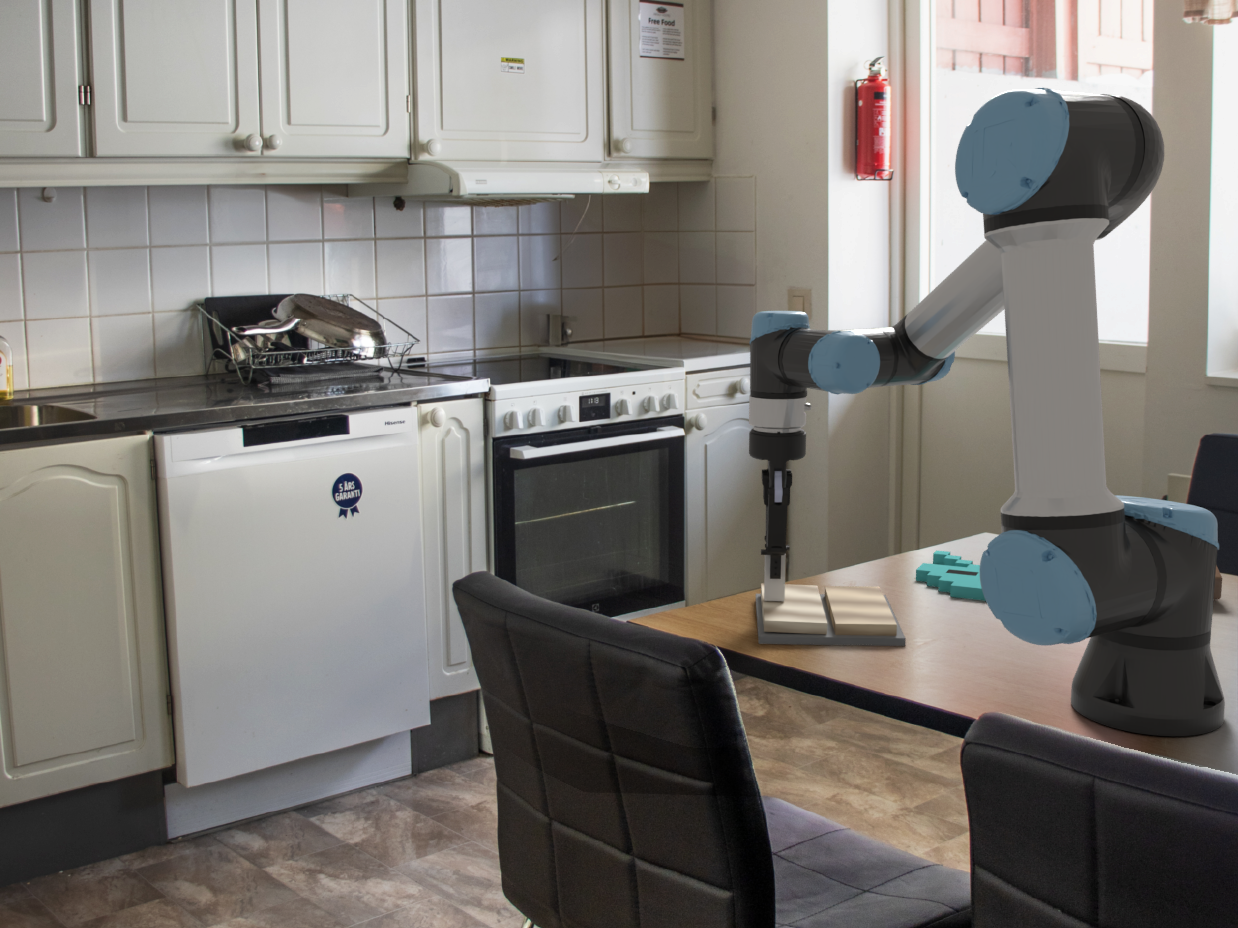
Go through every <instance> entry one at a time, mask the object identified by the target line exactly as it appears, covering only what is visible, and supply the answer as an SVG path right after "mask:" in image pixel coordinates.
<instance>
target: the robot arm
mask: <svg viewBox="0 0 1238 928" xmlns="http://www.w3.org/2000/svg"><path fill="white" fill-rule="evenodd" d="M1164 161H1165V141H1164V138H1163V133H1162V130H1161V129H1160V127H1159V125H1158V122H1157V120H1156V119H1155V118H1154V116H1153V115H1152V114H1151V113H1150V112H1149V111H1148V110H1147V109H1146V108H1145V107H1144V106H1143V105H1142V104H1139V103H1138V102H1136V101H1135V100H1132V99H1130V98H1127V97H1124V96H1122V95H1116V94H1105V93H1102V94H1096V93H1085V92H1077V91H1066V90H1057V89H1052V88H1048V87H1037V88H1033V89H1012V90H1011V89H1010V90H1007V91H1004V92H1001V93H999V94H996V95H995V96H994V97H992V98H990V99H988V100H987V101H986V102H985V103H984V104H982V106H981V107H979V109H978V110H977V111H976V112H975V113H974V114H973V117H972V119H971V122H970V123H969V124H966V126H965V128H964V131H963V132H962V135H961V137H960V139H959V142H958V146H957V149H956V154H955V161H954V173H955V174H954V175H955V182H956V186H957V189H958V192H959V193H960V195H961V197H962V198H964V199H966V203H967V205H968V206H970V207H971V208H972V209H974V210H975V211H976V212H978V213H981V214H982V220H983V221H982V222H983V233H984V234H983V235H984V239H985V241H984V242H982V243H981V245H979V246H978V247H977V248H976V249H975V250H974V251H973V252H972V253H971V254H970V255H968V256H967V258H966V259H964V260H963V261H962V262H961V263H960V264H959V265H958V266H957V267H956V268H955V269H954V270H953V271H952V272H950V273H949V274H948V275H947V276H946V277H945V278H944V279H943V280H942V281H941V282H939V284H938V285H937V286H936V287H935V288H934V289H932V291H931V292H929V293H928V294H927V295H926V296H925V297H924V298H923V299H922V300H921V301H920V302H919V303H918V304H917V305H916V306H915V307H913V308H912V310H910V311H909V312H908V313H907V314H905V315H904V316H903V318H902V317H901V319H900V320H899V321H898V322H896V324H893V325H892V326H887V327H871V328H856V329H854V328H852V329H836V330H835V329H834V330H831V329H829V330H827V329H811V326H810V318H809V314H807V312H805V311H800V310H766V311H765V310H764V311H758V312H756V313H755V314H754V315H753V316H752V320H751V331H750V332H751V333H750V339H749V348H750V349H749V352H750V353H749V356H750V357H749V359H750V360H749V365H750V366H749V372H750V373H749V376H750V377H749V390H750V392H749V399H748V400H749V402H748V403H749V404H748V405H749V406H748V407H749V408H748V410H749V411H748V424H749V425H750V426H751V427H753V428H751V429H750V431H749V433H748V454H749V456H750V457H751V458H753V459H754V460H755V459H756V460H760V461H767V469H765V468H764V469H763V468H762V469H761V484H762V486H763V487H762V489H763V491H762V492H763V493H762V496H763V497H762V498H763V504H764V505H765V535H764V537H763V538H764V542H765V543H764V548H765V549H764V548H763V549H760V555H762V556H764V582H763V583H764V601H785V584H786V556H787V555H786V554H787V552H788V551H790V549H791V548H790V545H789V544H787V530H788V529H787V526H788V506H789V505H790V504H791V487H792V486H793V473H792V469H787V462H789V461H798V460H802V459H803V458H804V457H805V456H806V454H807V449H806V447H807V432H806V431H805V430H804V429H802V428H803V427H805V426H806V425H807V413H806V412H805V411H811V410H812V404H811V403H809V402H807V396H808V389H810V390H811V389H812V390H817V391H822V392H827V393H830V394H834V395H841V394H846V395H847V394H848V395H857V394H859V393H862V392H864V391H865V390H867V389H874V388H880V387H893V386H894V387H895V386H904V385H905V386H906V385H908V386H909V385H911V386H919V385H924V384H927V383H930V382H937V381H939V380H941V379H943V378H944V377H946V376H947V375H948V374H949V373H950V371H951V368H952V365H953V364H954V362H955V358H956V351H957V350H958V349H959V348H960V347H962V346H963V344H965V343H966V342H967V341H968V340H970V338H973V336H974V335H976V334H977V333H979V332H980V331H981V330H982V329H983V328H984V327H985V326H986V325H987V324H989V323H990V322H991V321H992V320H993V319H995V317H997V316H998V315H1000V313H1002V312H1003V311H1004V321H1005V322H1004V324H1005V325H1004V327H1005V339H1006V340H1005V341H1006V357H1007V374H1008V377H1007V378H1008V392H1009V393H1008V395H1009V409H1010V427H1011V443H1012V460H1013V478H1014V492H1013V494H1012V495H1011V496H1010V497H1009V498H1008V499H1007V500H1006V502H1004V503H1003V504H1002V506H1001V507H1000V522H1001V523H1000V524H1001V533H1000V534H998V535H997V536H995V537H994V538H993V539H991V540H990V541H989V542H988V544H987V545H986V546H987V549H986V550H984V551H983V552H982V554H981V557H980V561H979V562H980V563H979V565H980V583H981V588H982V591H983V595H984V597H985V600H986V601H985V602H986V604H987V606H988V608H989V609H990V611H991V614H993V616H994V617H995V619H997V620H1000V622H1001V624H1002V626H1003V627H1004V628H1005V629H1006V630H1007V631H1008V632H1009V634H1012V635H1013V636H1014V637H1016V638H1018V639H1019V640H1021V641H1023V642H1026V643H1029V644H1031V645H1036V646H1045V647H1046V646H1055V645H1060V644H1065V645H1073V644H1075V643H1080V642H1083V641H1084V640H1085V639H1089V641H1088V643H1087V645H1086V648H1085V650H1084V652H1083V655H1082V656H1081V659H1080V662H1079V664H1078V666H1077V669H1076V671H1075V673H1074V676H1073V679H1072V681H1071V693H1070V704H1071V706H1072V708H1073V709H1074V710H1075V711H1076V712H1077V713H1079V714H1080V715H1082V717H1085V718H1086V719H1089V720H1091V721H1093V722H1096V723H1098V724H1101V725H1104V726H1107V727H1110V728H1112V729H1116V730H1121V731H1125V732H1128V733H1130V732H1131V733H1136V734H1143V735H1149V736H1150V735H1151V736H1157V737H1158V736H1161V737H1188V736H1189V737H1190V736H1197V735H1198V736H1199V735H1203V734H1207V733H1210V732H1213V731H1215V730H1217V729H1219V728H1220V727H1221V726H1222V725H1223V723H1224V722H1225V721H1224V718H1225V708H1226V707H1225V706H1226V702H1225V696H1224V692H1223V690H1222V689H1223V688H1222V685H1221V682H1220V679H1219V678H1220V677H1219V675H1218V672H1217V669H1216V668H1217V667H1216V664H1215V660H1214V658H1213V655H1212V650H1211V638H1212V637H1211V636H1212V628H1213V627H1212V626H1213V625H1212V624H1213V612H1214V610H1213V609H1214V587H1215V574H1216V565H1217V560H1218V559H1217V558H1218V551H1219V550H1220V543H1219V541H1218V539H1219V538H1218V528H1219V527H1218V519H1217V517H1216V516H1215V514H1214V513H1213V512H1211V510H1208V509H1206V508H1204V507H1200V506H1197V505H1194V504H1189V503H1183V502H1178V501H1171V500H1165V499H1158V498H1150V497H1142V496H1131V495H1118V494H1117V495H1115V494H1114V493H1113V492H1111V490H1110V489H1109V488H1108V486H1107V473H1106V470H1107V469H1106V468H1107V467H1106V457H1105V455H1106V453H1105V435H1104V416H1103V415H1104V413H1103V400H1102V399H1103V398H1102V397H1103V396H1102V380H1101V360H1100V359H1101V358H1100V342H1099V326H1098V325H1099V324H1098V306H1097V305H1098V304H1097V289H1096V288H1097V286H1096V269H1095V253H1094V252H1095V250H1094V244H1095V242H1096V241H1099V240H1102V239H1105V238H1106V237H1107V235H1109V234H1110V233H1112V232H1113V231H1114V230H1115V229H1117V227H1119V226H1120V225H1121V224H1122V223H1123V222H1125V221H1126V220H1127V219H1128V218H1129V217H1131V215H1133V213H1134V212H1136V211H1137V210H1138V209H1139V208H1140V207H1141V205H1143V203H1144V202H1146V200H1147V198H1148V197H1149V196H1150V195H1151V193H1152V191H1153V190H1154V189H1155V188H1156V185H1157V183H1158V181H1159V179H1160V176H1161V174H1162V171H1163V166H1164Z"/></svg>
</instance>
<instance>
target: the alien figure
mask: <svg viewBox="0 0 1238 928" xmlns="http://www.w3.org/2000/svg"><path fill="white" fill-rule="evenodd" d="M932 560H933V561H932V563H929V562H927V563H925V562H923V563H922V564H920V565H919V566H918V568H916V569H915V581H916V582H925V583H926V586H927V587H935V588H937V589H938V592H942V593H950V595H949V597H950V598H957V599H958V598H959V599H966V600H974V601H975V600H977V601H983V602H984V601H985V602H986V600H985V597H984V595H983V591H982V588H981V583H980V564H974V563H973V562H974V561H973V560H969V559H968V560H967V559H962V556H961V555H953V554H952V555H951V551H945V550H935V552H933V555H932Z"/></svg>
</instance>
